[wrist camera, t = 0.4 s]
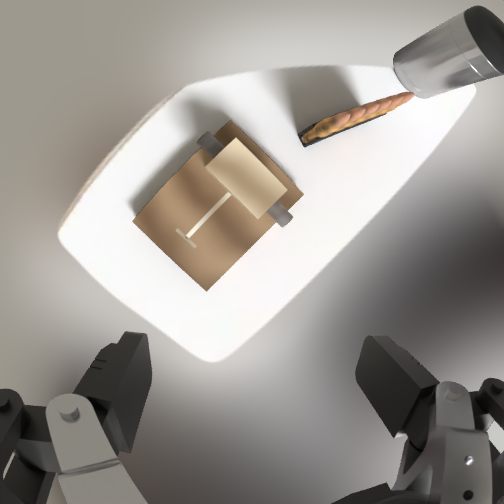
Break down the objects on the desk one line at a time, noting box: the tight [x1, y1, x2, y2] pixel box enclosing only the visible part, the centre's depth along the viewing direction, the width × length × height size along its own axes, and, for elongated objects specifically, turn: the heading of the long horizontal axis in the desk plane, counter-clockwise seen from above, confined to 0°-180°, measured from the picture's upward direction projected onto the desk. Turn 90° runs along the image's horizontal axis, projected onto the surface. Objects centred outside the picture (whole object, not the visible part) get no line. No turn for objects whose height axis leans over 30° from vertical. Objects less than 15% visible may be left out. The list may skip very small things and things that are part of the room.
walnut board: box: [132, 120, 304, 291], centre depth 31 cm, size 16×12×2 cm
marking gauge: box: [197, 132, 293, 227], centre depth 27 cm, size 4×12×5 cm, turn 44°
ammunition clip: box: [298, 92, 414, 147], centre depth 26 cm, size 11×2×12 cm, turn 116°
